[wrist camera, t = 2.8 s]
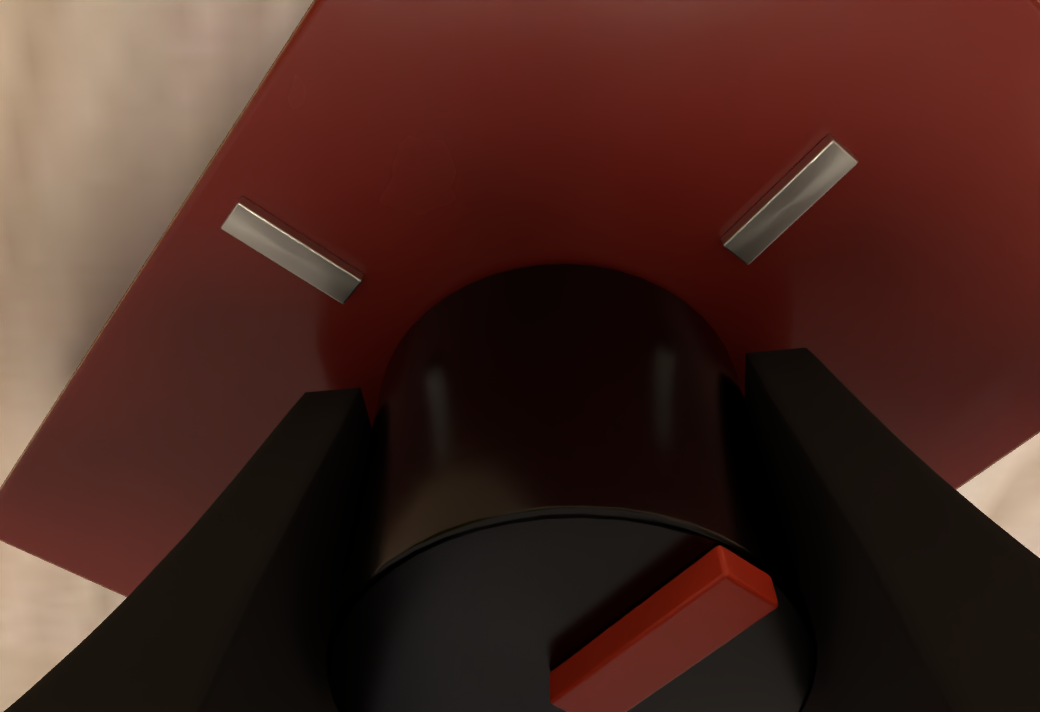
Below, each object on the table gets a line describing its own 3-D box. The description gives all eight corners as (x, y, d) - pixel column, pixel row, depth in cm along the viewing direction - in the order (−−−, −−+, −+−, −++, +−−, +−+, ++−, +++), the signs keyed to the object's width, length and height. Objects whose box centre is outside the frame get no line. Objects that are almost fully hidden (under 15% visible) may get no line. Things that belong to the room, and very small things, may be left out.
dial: (578, 585, 12) (596, 892, 9) (312, 438, 11) (224, 742, 8) (814, 394, 10) (939, 697, 7) (531, 185, 9) (534, 451, 6)
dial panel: (533, 628, 17) (535, 791, 15) (67, 385, 14) (-34, 541, 12) (1129, 148, 12) (1296, 276, 9) (589, -424, 9) (617, -472, 6)
